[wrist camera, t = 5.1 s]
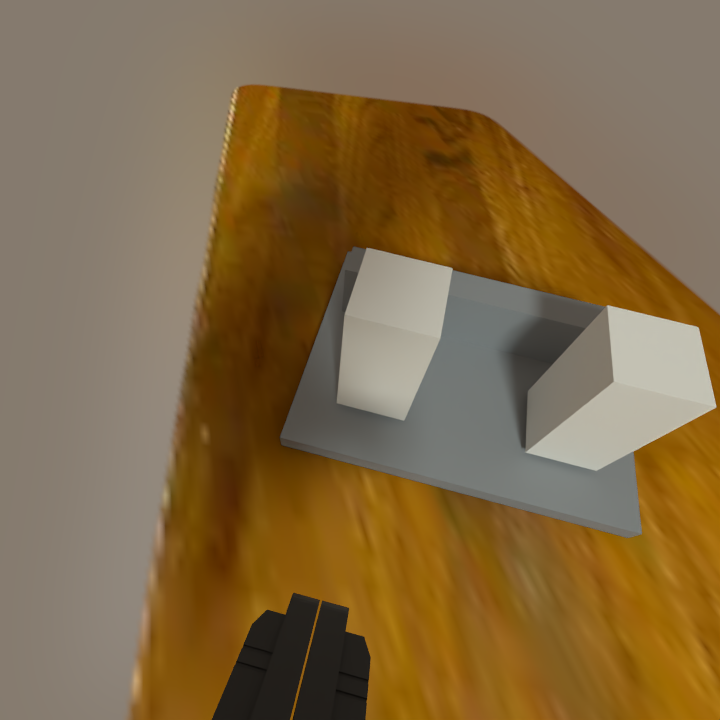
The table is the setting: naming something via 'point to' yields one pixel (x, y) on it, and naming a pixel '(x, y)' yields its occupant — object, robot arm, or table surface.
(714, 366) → the table surface
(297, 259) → the table surface
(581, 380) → the white rectangular block
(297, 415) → the plate
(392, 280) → the tall white pillar block
